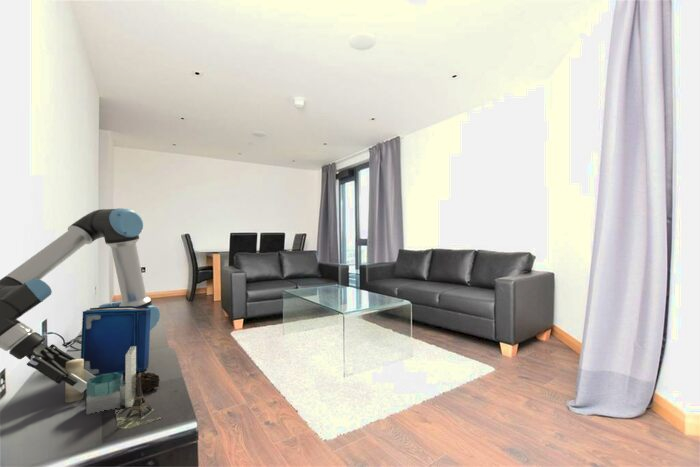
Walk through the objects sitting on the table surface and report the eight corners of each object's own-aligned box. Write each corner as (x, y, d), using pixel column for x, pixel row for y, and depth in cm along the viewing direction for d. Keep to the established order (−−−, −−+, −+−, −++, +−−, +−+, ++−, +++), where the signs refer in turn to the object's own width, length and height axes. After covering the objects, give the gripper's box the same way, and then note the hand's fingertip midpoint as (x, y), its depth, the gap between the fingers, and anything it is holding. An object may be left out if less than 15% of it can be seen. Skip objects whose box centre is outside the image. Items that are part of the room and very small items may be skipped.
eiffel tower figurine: (112, 412, 93) (112, 367, 94) (152, 400, 100) (152, 358, 100) (119, 435, 82) (119, 384, 82) (163, 420, 89) (163, 372, 89)
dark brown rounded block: (92, 403, 98) (92, 385, 98) (100, 393, 104) (100, 376, 104) (158, 392, 105) (158, 375, 105) (161, 383, 111) (161, 367, 111)
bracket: (92, 403, 98) (92, 351, 98) (135, 395, 103) (136, 345, 103) (83, 416, 90) (84, 360, 90) (131, 407, 95) (131, 354, 95)
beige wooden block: (68, 397, 101) (68, 360, 101) (85, 394, 103) (85, 357, 103) (62, 403, 97) (63, 365, 98) (80, 400, 99) (81, 362, 99)
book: (152, 365, 127) (153, 303, 127) (147, 372, 120) (147, 307, 120) (87, 373, 120) (88, 307, 120) (78, 380, 113) (79, 311, 114)
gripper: (24, 342, 102) (87, 382, 109) (-10, 362, 85) (67, 408, 92) (46, 324, 105) (106, 364, 112) (17, 340, 88) (90, 386, 95)
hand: (88, 384), depth 102 cm, fingers open, 6 cm apart
